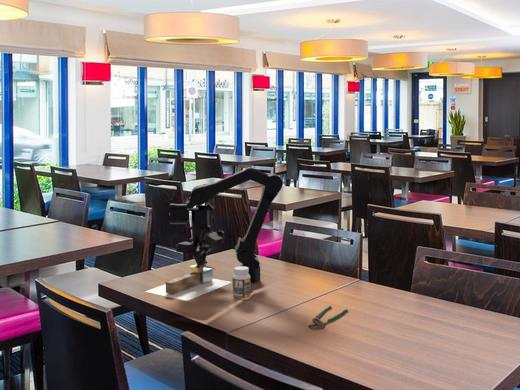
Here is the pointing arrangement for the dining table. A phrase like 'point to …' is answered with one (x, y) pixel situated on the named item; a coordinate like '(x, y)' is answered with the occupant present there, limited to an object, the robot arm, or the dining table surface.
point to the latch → (196, 268)
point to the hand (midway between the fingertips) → (200, 268)
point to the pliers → (321, 324)
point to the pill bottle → (241, 283)
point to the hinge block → (205, 275)
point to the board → (190, 290)
